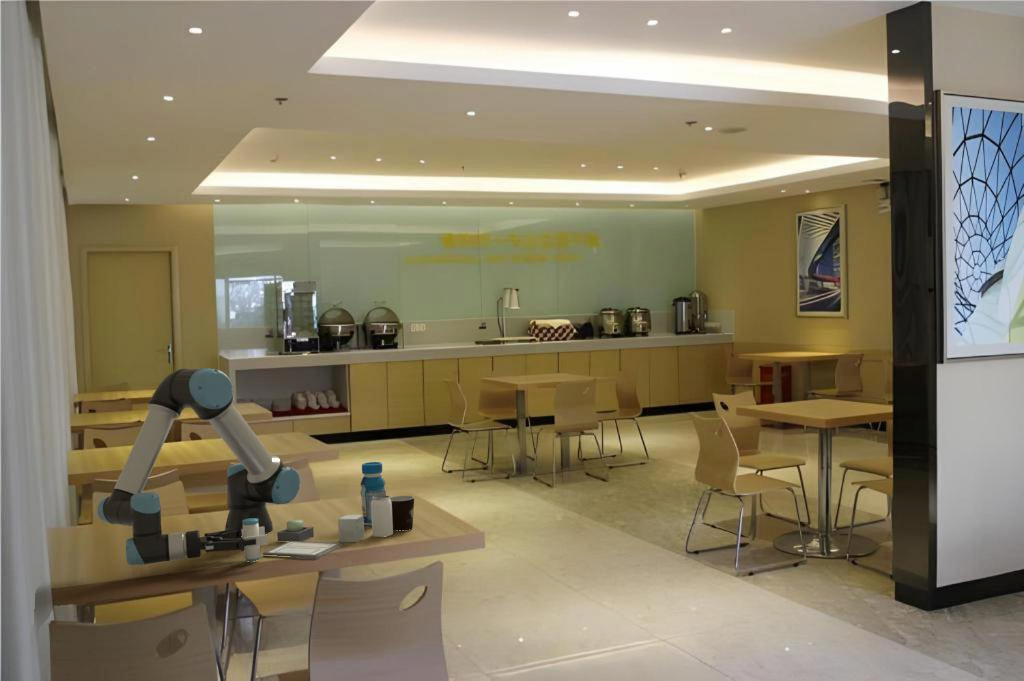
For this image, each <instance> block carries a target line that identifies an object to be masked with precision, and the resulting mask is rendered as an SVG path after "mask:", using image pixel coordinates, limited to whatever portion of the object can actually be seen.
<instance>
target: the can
mask: <svg viewBox="0 0 1024 681" xmlns="http://www.w3.org/2000/svg"><path fill="white" fill-rule="evenodd" d="M371 518H372V525H371V531H372V532H371V533H372V536H373V537H374V536H375V537H374V538H377V537H384V536H389V537H391V536H393V534H394V531H393V521H392V503H391V500H390V495H386V496H376V497H373V498H372V501H371ZM390 535H391V536H390ZM384 538H385V537H384Z"/></svg>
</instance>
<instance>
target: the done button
mask: <svg viewBox="0 0 1024 681" xmlns="http://www.w3.org/2000/svg"><path fill="white" fill-rule="evenodd" d="M303 527H304V520H303V519H291V520H288V521H286V528H287V532H300V531H303V530H304V529H303Z"/></svg>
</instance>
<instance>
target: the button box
mask: <svg viewBox="0 0 1024 681" xmlns="http://www.w3.org/2000/svg"><path fill="white" fill-rule="evenodd" d="M303 529H304V530H303V531H300V532H287V527H286V528H284V529H282V530H280V531H278V532H276V536H277V542H278V541H303V540H305V541H307V540H309V539H311V538H310V537H312V538H314V537H315V534H314V532H315V531H314V526H303ZM313 536H314V537H313ZM308 538H309V539H308ZM306 539H307V540H306Z"/></svg>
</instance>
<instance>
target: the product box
mask: <svg viewBox="0 0 1024 681" xmlns="http://www.w3.org/2000/svg"><path fill="white" fill-rule="evenodd" d="M337 521H338V539H339V542H338V543H358V542H360V541H361V539H362V538H363V539H365V524H364V520H363V514H345V515H343V516H341V517H339V518H338V519H337ZM363 539H362V540H363Z"/></svg>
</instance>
